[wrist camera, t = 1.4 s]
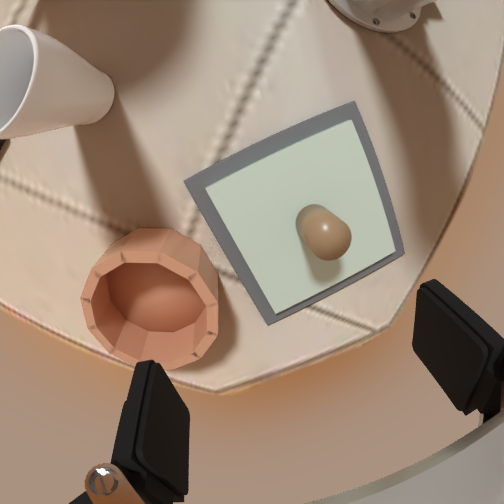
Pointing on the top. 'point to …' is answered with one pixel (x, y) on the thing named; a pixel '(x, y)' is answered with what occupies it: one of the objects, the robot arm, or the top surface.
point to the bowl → (153, 298)
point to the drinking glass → (47, 85)
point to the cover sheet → (285, 195)
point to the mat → (263, 150)
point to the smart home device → (2, 142)
